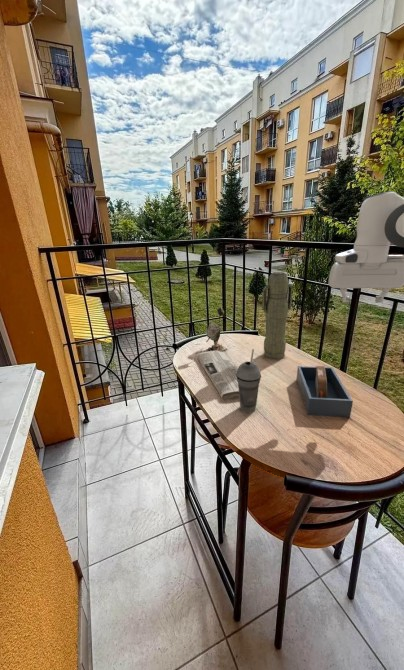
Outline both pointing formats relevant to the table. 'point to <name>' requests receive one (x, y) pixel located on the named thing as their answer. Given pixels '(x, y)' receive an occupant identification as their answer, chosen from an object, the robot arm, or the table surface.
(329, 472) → the table surface
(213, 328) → the plant with pod
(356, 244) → the robot arm
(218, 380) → the newspaper
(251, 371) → the beverage cup
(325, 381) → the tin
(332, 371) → the bin
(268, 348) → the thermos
